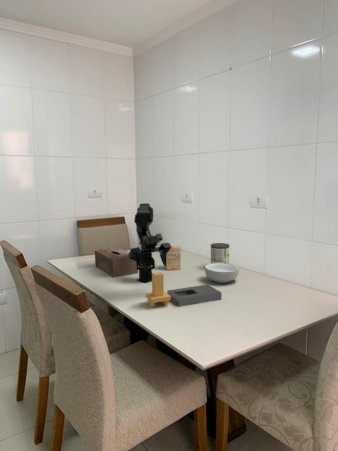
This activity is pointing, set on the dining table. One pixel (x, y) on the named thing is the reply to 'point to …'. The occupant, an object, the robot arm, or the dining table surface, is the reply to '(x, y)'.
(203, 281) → the dining table surface
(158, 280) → the orange post
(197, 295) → the grey metal plate
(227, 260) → the coffee can
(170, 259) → the supplement box
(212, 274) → the cereal bowl
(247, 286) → the dining table surface
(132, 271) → the tissue box cover
